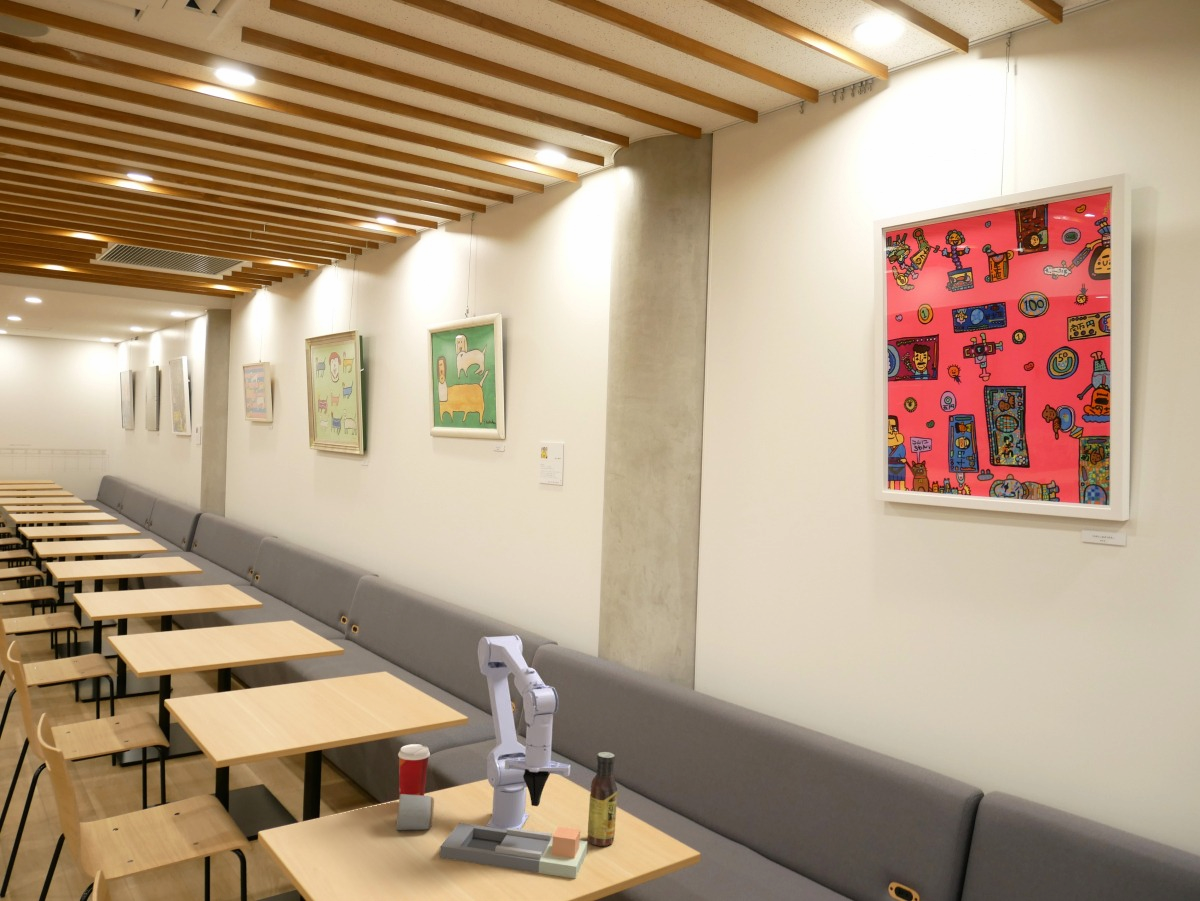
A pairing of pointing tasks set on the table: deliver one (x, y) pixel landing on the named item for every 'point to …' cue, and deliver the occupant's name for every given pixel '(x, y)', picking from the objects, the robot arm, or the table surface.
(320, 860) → the table surface
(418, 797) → the grey rounded cube
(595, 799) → the sauce bottle
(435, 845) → the table surface
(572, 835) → the terracotta block
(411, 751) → the paper cup
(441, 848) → the tunnel deck
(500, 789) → the robot arm
